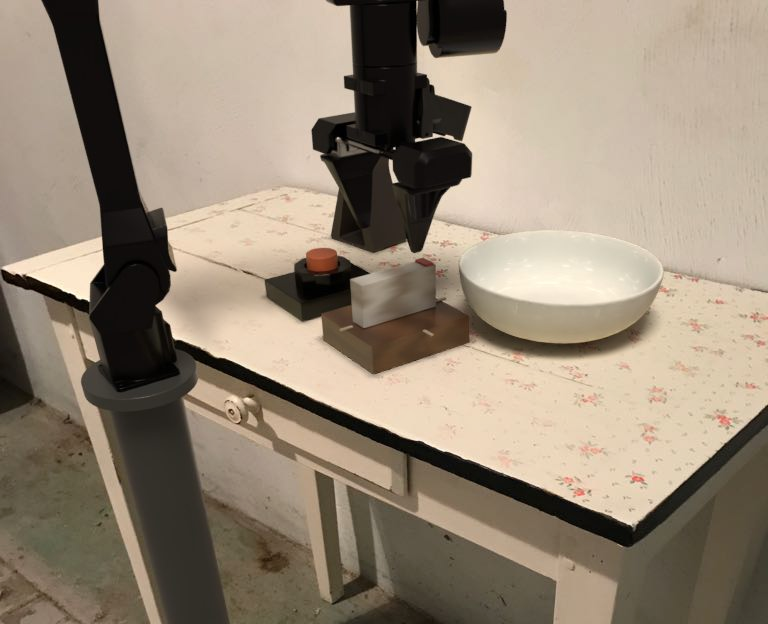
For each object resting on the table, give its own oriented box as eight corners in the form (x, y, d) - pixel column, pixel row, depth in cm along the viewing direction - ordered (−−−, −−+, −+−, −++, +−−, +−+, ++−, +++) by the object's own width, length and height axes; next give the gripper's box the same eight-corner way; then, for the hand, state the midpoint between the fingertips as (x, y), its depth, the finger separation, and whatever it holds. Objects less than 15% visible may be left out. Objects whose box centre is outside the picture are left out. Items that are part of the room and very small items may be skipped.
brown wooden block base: (377, 382, 80) (375, 352, 78) (311, 336, 89) (308, 308, 87) (483, 346, 85) (484, 317, 83) (411, 306, 94) (410, 279, 92)
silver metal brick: (363, 328, 83) (361, 283, 80) (352, 321, 84) (349, 276, 81) (436, 306, 86) (436, 262, 84) (423, 300, 88) (423, 256, 85)
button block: (302, 321, 92) (299, 287, 89) (266, 297, 98) (262, 264, 96) (384, 298, 96) (383, 264, 94) (345, 275, 103) (343, 244, 100)
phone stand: (406, 241, 112) (405, 147, 105) (374, 253, 109) (370, 157, 102) (363, 227, 117) (358, 137, 110) (330, 238, 114) (324, 146, 107)
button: (316, 276, 93) (315, 260, 92) (301, 267, 96) (300, 252, 94) (343, 268, 95) (342, 253, 94) (328, 260, 97) (327, 245, 96)
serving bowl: (500, 382, 79) (504, 314, 75) (432, 301, 95) (432, 242, 91) (692, 350, 83) (706, 284, 79) (596, 278, 99) (603, 220, 95)
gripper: (525, 63, 69) (513, 247, 79) (399, 42, 82) (402, 202, 91) (418, 80, 65) (419, 273, 74) (302, 55, 77) (316, 222, 87)
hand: (389, 239), depth 82 cm, fingers open, 9 cm apart
